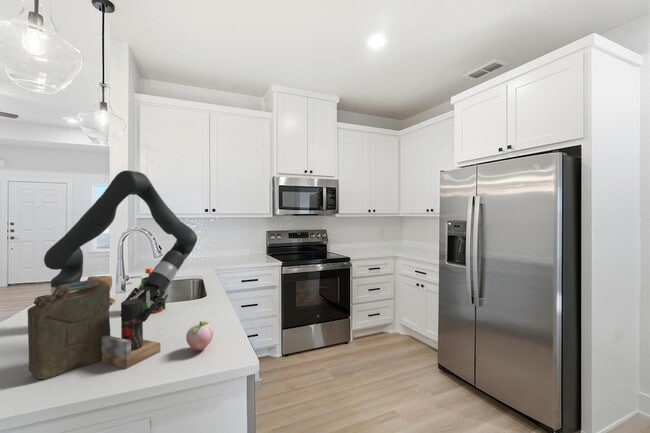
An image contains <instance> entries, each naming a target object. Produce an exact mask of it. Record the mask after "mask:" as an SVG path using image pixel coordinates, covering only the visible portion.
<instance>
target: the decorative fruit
mask: <svg viewBox="0 0 650 433" xmlns="http://www.w3.org/2000/svg"><path fill="white" fill-rule="evenodd" d="M213 336H214V328H213V326H212V325H210V322H209V321H206V320H205V321H200V320H199V323H196V324H193V325H192V326H191V327H190V328H189V329H188V330H187V332H186V337H185V338H186V339H185V340H186V344H188V346H189V347H190V348H191V349H193V350H196V351H203V350H205V348H206V347H208V346H209V345H210V343H211V342H212V340H213Z"/></svg>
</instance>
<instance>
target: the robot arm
mask: <svg viewBox="0 0 650 433" xmlns="http://www.w3.org/2000/svg"><path fill="white" fill-rule="evenodd" d="M130 195H133V196H138V197H139V198H140V199H141V200H142V201H143V202H145V204H146V205H147V206H148V209H149V211H150V214H151V216H152V219H153V221H155V223H156V224H157V225H158V226H159V228H161V230H162V231H163V232H165V234H167V235H172V236H173V237H174V238H175V239H176V241H175V243H174V244H173V246H171V248H170V250H168V251H167V252H166V253H165V254H164V255H163V257H162V258H161V259H160V260H159V262H158V263H157V264H156V265H155V266H154V268H152V269H153V271H152V272H151V273H150V275H149V274H148V275H147V276H146V277H147V279H146V280H145V281H144V287H143V288H142V289H139V288H138V287H134V288H133V289H132V290H131V292H130V293H129V295H128V296H127V297H126V298H125V299H124V301H126V300H131V299H141V300H142V303H147V309H146V308H145V310H144V311H143V313H142V314H141V316H140V317H139V320H140V321H142V322H143V323H145V322H146V321H147V320H148V319H149V317H150V316H151V315H152V314H151V312H153V311H154V310H157V311H158V310H159V309H160V308H161V306H162V304H163V303H164V301H165V302H166V300H165V299H167V298H168V293H165V290H168V288H169V286H170V284H172V282H173V280H174V279H175V277H176V275H177V273H178V271H179V269H181V267H182V265H183V264H184V262H185V260H186V259H187V258H188V257H189V255H190V254H191V253H192V252H193V250H194V248H195V246H196V244H197V241H198V237H197V234H196V233H195V231H194V230H193V229H192V228H191V227H189V226H188V225H187V224H185V223H184V222H182V221H181V220H180V219H179V218H178V216H176V214H175V213H174V212H173V211H172V210H171V208H169V206H168V205H167V204H166V202H165V201H164V200H163V199H162V198H161V197H162V196H160V194H159V193H158V191H157V190H156V188H155V187H154V185H153V183H152V182H151V181H150V179H149V178H148V176H147V175H146V174H144V173H142V172H140V171H134V170H121V171H120V172H119V173H117V174H116V175H115V176H114V178H113V179H112V181H111V182H110V183H109V185H108V186H107V188H106V189H105V190H104V192H103V193H102V194H101V196H99V198H98V199H96V201H95V202H94V203H93V204H92V206H91V207H90V208H88V210H87V211H86V212H85V213H84V214H83V215H81V217H80V219H78V221H77V222H76V223H75V224H74V225H73V226H72V227H71V228H70V229H69V231H67V232H66V233H65V235H63V236H62V237H61V238H60V239H59V240H58V241H56V242H55V243H54V244H53V245H52V246H51V247H50V248H49V249H48V250H47V251H46V253H45V255H44V256H43V257H44V258H43V262H44V265H45V267H47V268H48V269H49V270H56V271H57V270H60V272H59V273H58V274H57V275H56V276H54V277H53V278H51V280H50V295H53V293H54V291H55V289H56V288H57V287H58V286H60V285H64V284H70V283H75V282H81V279H82V277H83V272H84V269H83V267H84V253H83V250H82V246H84V245H86V244H87V243H89V242H91V241H93V240H94V239H96V238H97V237H98V236H100V235H102V234H103V233H104V232H105V231H106V230H107V229H108V228H109V227H110V226H111V224H112V223H113V222H114V221H115V218H116V216H117V215H116V214H117V208H118V207H119V205H120V204H122V202H123V201H124V199H126V198H128V196H130ZM75 291H78V290H75ZM75 291H70V292H69V293H71V292H75ZM158 303H159V304H158ZM157 304H158V306H157ZM119 316H120V317H121V313H120V315H119Z"/></svg>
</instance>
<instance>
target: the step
mask: <svg viewBox="0 0 650 433" xmlns="http://www.w3.org/2000/svg"><path fill="white" fill-rule="evenodd" d="M160 352H161V342H157V341H152V340H147V339H144V338H143V346H142V347H141V348H139V349H137V350H134V351H131V340H126V339H122V338H121V337H116V336H112V335H110V336H108V335H106V336H103V337H102V360H101V363H103V364H107V365H109V366H110V365H111V366H115V367H118V368H123V369H129V368H131V367H133V366H135V365H136V364H139V363H141V362H143V361H145V360H147V359H148V358H151V357H152V356H155V355H156V354H159V353H160Z"/></svg>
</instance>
